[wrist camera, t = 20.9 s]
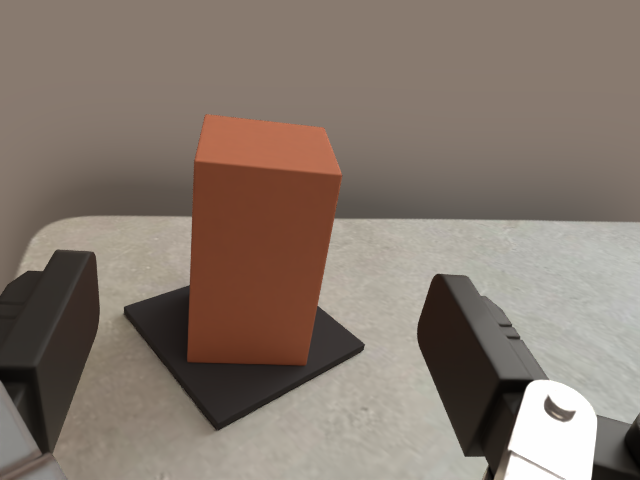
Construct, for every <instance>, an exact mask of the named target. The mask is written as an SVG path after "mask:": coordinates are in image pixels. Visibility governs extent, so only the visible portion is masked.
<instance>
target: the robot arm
mask: <svg viewBox="0 0 640 480" xmlns="http://www.w3.org/2000/svg"><path fill="white" fill-rule="evenodd" d="M99 314H100V305H99V291H98V278H97V264H96V256H95V254H94V252H89V251H73V250H56V251H55V252H54V254H53V255H52V257H51V259H50V260H49V262H48V264H47V266H46V267H45V269H44V271H27V272H25V273H24V274H22V275H21V276H19V277H18V278H17V279H15V280H14V281H12V282H11V283H9V284H8V285H7V287H6V288H5V290H4V291H3V293H2V294H1V296H0V480H67V478H66V476H65V475H64V473H63V471H62V469H61V468H60V466H59V464H58V463H57V461H56V459H55V458H54V457H53V455H52V453H53V450H54V448H55V445H56V442H57V440H58V437H59V434H60V431H61V429H62V426H63V423H64V421H65V418H66V415H67V412H68V410H69V407H70V404H71V401H72V399H73V396H74V393H75V391H76V388H77V385H78V382H79V380H80V377H81V374H82V372H83V369H84V366H85V363H86V361H87V358H88V355H89V353H90V350H91V347H92V344H93V342H94V339H95V336H96V333H97V329H98V324H99ZM417 338H418V344H419V347H420V350H421V352H422V354H423V357H424V359H425V362H426V364H427V366H428V369H429V371H430V374H431V376H432V378H433V381H434V383H435V386H436V388H437V391H438V393H439V395H440V398H441V400H442V403H443V405H444V407H445V410H446V412H447V415H448V417H449V419H450V422H451V424H452V427H453V429H454V431H455V434H456V436H457V439H458V441H459V443H460V446H461V448H462V451H463V453H464V455H465V457H481V456H485V458H486V460H487V462H488V464H489V465H488V467H487V469H486V471H485V473H484V475H483V478H482V480H640V413H639V415H638V416H637V418H636V419H635V421H634V422H633V424H628V423H625V422H621V421H617V420H614V419H610V418H606V417H603V416H599V415H596V413H595V411H594V409H593V408H592V406H591V405H590V404H589V403H588V401H587V400H586V399H585V398H584V397H582V396H581V395H580V394H579V393H577V392H576V391H574V390H573V389H571V388H569V387H568V386H566V385H563V384H561V383H558V382H555V381H550V380H549V379H548V377H547V376H546V374H545V373H544V371H543V370H542V368H541V367H540V365H539V364H538V362H537V361H536V359H535V358H534V357H533V355H532V354H531V352H530V351H529V349H528V348H527V346H526V345H525V343H524V342H523V340H520V336H519V334H518V333H517V331H516V330H515V328H513V327H512V324H511V322H510V321H509V319H508V318H507V316H506V315H505V313H504V312H503V310H502V309H501V308H499V307H498V306H497V305H496V304H494V303H493V302H492V301H491V300H490V299H488V298H487V297H486V296H480V294H479V293H478V291H477V290H476V288H475V286H474V285H473V283H472V282H471V280H470V279H469V277H467V276H464V275H448V274H436V275H435V276H434V277H433V279H432V282H431V285H430V288H429V291H428V294H427V297H426V300H425V303H424V306H423V309H422V313H421V316H420V319H419V322H418V328H417Z"/></svg>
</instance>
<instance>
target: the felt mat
mask: <svg viewBox="0 0 640 480" xmlns="http://www.w3.org/2000/svg"><path fill="white" fill-rule="evenodd" d="M189 296H190V285H189V286H186V287H183V288H180V289H177V290H174V291H171V292H168V293H165V294H162V295H159V296H156V297H152V298H149V299H146V300H143V301H140V302H137V303H134V304H131V305H128V306H125V307H124V313H125V315H126V316H127V317H128V318H129V320H130V321H131V322H132V324H133V325H134V326H135V327H136V329H137V330H138V331H139V332H140V334H141V335H142V336H143V337H144V339H145V340H146V341H147V342H148V344H149V345H150V346H151V347H152V349H153V350H154V351H155V352H156V354H157V355H158V356H159V357H160V359H161V360H162V361H163V362H164V364H165V365H166V366H167V367H168V369H169V370H170V371H171V372H172V374H173V375H174V376H175V377H176V379H177V380H178V381H179V382H180V384H181V385H182V386H183V388H184V389H185V390H186V391H187V393H188V394H189V395H190V396H191V398H192V399H193V400H194V401H195V403H196V404H197V405H198V406H199V408H200V409H201V410H202V411H203V413H204V414H205V415H206V416H207V418H208V419H209V420H210V421H211V423H212V424H213V425H214V426H215V428H216V429H217V430H219V429H220V428H222V427H224V426H226V425H228V424H229V423H231V422H233V421H235V420H237V419H239V418H240V417H242V416H244V415H246V414H248V413H250V412H251V411H253V410H255V409H257V408H259V407H261V406H262V405H264V404H266V403H268V402H270V401H272V400H273V399H275V398H277V397H279V396H281V395H282V394H284V393H286V392H288V391H290V390H292V389H293V388H295V387H297V386H299V385H301V384H303V383H304V382H306V381H308V380H310V379H312V378H314V377H315V376H317V375H319V374H321V373H323V372H325V371H326V370H328V369H330V368H332V367H334V366H335V365H337V364H339V363H341V362H343V361H345V360H346V359H348V358H350V357H352V356H354V355H356V354H357V353H359V352H361V351H363V350H364V346H365V344H364V343H363V342H361V341H360V340H359V339H358V338H357V337H355V336H354V335H353V334H352V333H350V332H349V331H348V330H347V329H345V328H344V327H343V326H342V325H341V324H339V323H338V322H337V321H336V320H334V319H333V318H332V317H331V316H330V315H328V314H327V313H326V312H325V311H323V310H322V309H321V308H320V307H319V306H317V310H316V316H315V321H314V326H313V331H312V337H311V342H310V347H309V352H308V358H307V363H306V365H305V366H300V365H265V364H230V363H194V362H188V361H187V353H188V325H189Z"/></svg>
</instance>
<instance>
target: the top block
mask: <svg viewBox="0 0 640 480" xmlns="http://www.w3.org/2000/svg"><path fill="white" fill-rule="evenodd" d="M341 179H342V174H341V171H340V168H339V166H338V163H337V160H336V158H335V155H334V152H333V150H332V147H331V145H330V142H329V139H328V137H327V134H326V131H325V129H324V128H322V127H313V126H305V125H296V124H287V123H278V122H269V121H261V120H251V119H243V118H234V117H224V116H217V115H207V114H206V115H205V117H204V122H203V126H202V131H201V134H200V139H199V143H198V147H197V152H196V156H195V160H194V183H193V212H192V239H191V268H190V296H189V325H188V353H187V361H188V362H194V363H230V364H265V365H300V366H305V365H306V363H307V358H308V352H309V347H310V342H311V337H312V331H313V326H314V321H315V316H316V310H317V305H318V300H319V295H320V290H321V284H322V279H323V274H324V269H325V263H326V258H327V253H328V248H329V243H330V237H331V232H332V227H333V222H334V216H335V211H336V206H337V201H338V195H339V190H340V185H341Z"/></svg>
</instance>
